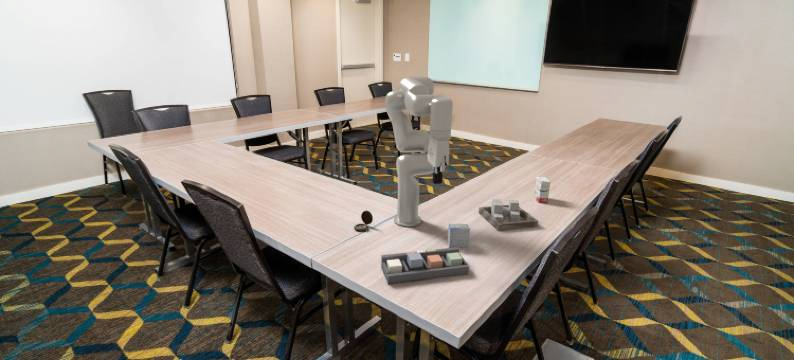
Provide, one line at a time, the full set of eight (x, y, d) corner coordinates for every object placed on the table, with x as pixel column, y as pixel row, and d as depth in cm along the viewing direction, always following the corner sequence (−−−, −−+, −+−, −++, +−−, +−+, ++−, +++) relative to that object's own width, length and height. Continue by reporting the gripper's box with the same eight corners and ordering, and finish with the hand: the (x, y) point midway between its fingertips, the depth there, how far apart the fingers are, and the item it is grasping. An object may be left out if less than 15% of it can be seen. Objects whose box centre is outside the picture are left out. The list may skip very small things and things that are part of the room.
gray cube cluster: (493, 224, 182) (495, 208, 180) (490, 213, 194) (492, 198, 191) (520, 226, 181) (523, 210, 179) (515, 215, 193) (517, 199, 190)
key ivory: (386, 268, 143) (386, 260, 142) (398, 266, 144) (398, 259, 143) (389, 274, 139) (389, 266, 138) (401, 273, 140) (402, 265, 139)
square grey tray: (478, 213, 194) (479, 207, 193) (515, 209, 198) (515, 204, 197) (497, 231, 176) (498, 224, 175) (537, 227, 181) (538, 220, 180)
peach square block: (426, 263, 146) (427, 255, 145) (438, 262, 147) (438, 254, 146) (430, 269, 142) (431, 262, 141) (442, 268, 143) (442, 260, 142)
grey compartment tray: (381, 267, 146) (381, 254, 144) (456, 258, 153) (457, 246, 151) (387, 284, 136) (388, 270, 134) (468, 274, 143) (469, 261, 141)
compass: (351, 229, 174) (350, 214, 172) (363, 223, 180) (363, 208, 178) (364, 234, 170) (364, 219, 167) (376, 228, 176) (376, 213, 173)
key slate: (407, 261, 144) (407, 253, 143) (418, 260, 145) (419, 252, 144) (410, 268, 140) (410, 260, 139) (422, 266, 141) (422, 258, 140)
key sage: (446, 261, 148) (446, 253, 147) (457, 260, 149) (457, 252, 148) (450, 267, 144) (451, 259, 143) (461, 266, 145) (462, 258, 144)
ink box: (547, 203, 208) (551, 181, 204) (538, 203, 208) (541, 181, 204) (542, 197, 216) (545, 176, 212) (533, 196, 216) (536, 176, 212)
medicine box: (466, 242, 165) (468, 223, 162) (468, 247, 161) (470, 228, 158) (447, 242, 165) (448, 223, 162) (448, 247, 161) (450, 228, 158)
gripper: (423, 129, 147) (421, 177, 153) (437, 139, 133) (434, 190, 139) (442, 129, 148) (439, 175, 155) (458, 138, 135) (454, 189, 141)
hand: (437, 182), depth 147 cm, fingers closed
